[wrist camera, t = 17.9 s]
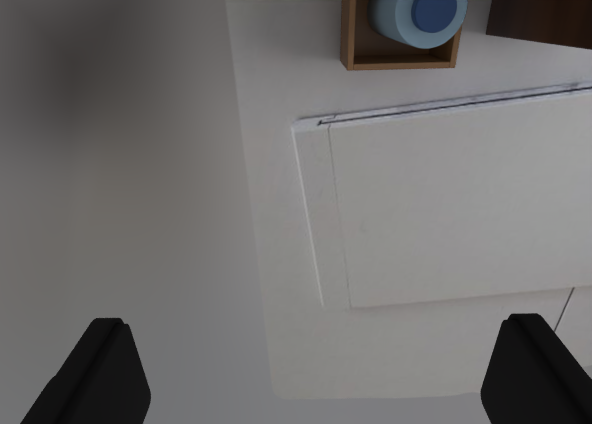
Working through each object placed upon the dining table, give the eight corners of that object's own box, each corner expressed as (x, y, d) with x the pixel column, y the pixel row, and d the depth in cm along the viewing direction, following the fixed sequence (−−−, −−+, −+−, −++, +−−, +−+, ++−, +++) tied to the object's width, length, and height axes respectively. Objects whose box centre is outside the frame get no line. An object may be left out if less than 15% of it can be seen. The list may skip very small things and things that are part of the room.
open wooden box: (340, 61, 37) (347, 70, 32) (343, -49, 33) (351, -61, 27) (431, 58, 37) (455, 67, 31) (446, -52, 33) (477, -65, 27)
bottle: (358, 26, 35) (386, 35, 24) (379, -28, 33) (420, -47, 22) (403, 43, 36) (450, 60, 25) (426, -9, 34) (489, -18, 23)
